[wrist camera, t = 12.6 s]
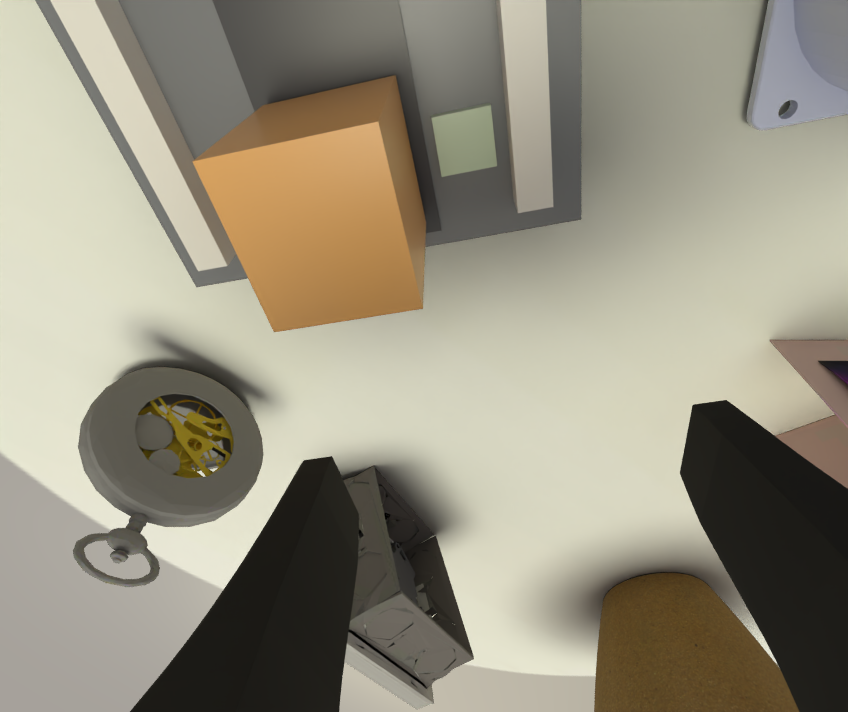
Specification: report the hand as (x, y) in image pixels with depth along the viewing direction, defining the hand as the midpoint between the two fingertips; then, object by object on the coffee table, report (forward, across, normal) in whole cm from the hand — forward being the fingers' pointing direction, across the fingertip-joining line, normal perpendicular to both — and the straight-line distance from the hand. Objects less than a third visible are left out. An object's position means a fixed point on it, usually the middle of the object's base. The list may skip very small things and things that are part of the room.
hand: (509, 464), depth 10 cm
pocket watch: (+11, +14, +6) cm, 19 cm away
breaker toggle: (+8, +3, -4) cm, 9 cm away
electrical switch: (+11, +7, +16) cm, 20 cm away
